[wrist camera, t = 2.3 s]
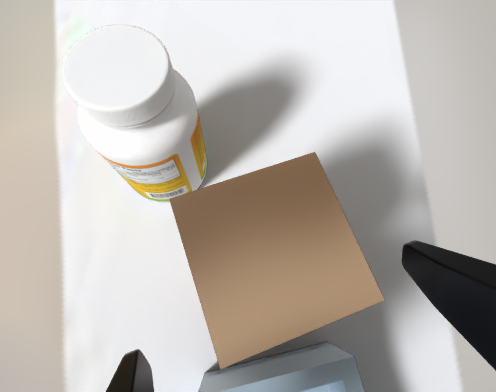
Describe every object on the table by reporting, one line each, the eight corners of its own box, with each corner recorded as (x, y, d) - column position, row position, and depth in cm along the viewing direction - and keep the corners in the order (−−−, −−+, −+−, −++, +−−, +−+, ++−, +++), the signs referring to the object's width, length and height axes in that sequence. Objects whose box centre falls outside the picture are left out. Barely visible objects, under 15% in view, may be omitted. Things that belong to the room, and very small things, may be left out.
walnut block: (296, 294, 18) (384, 300, 8) (227, 322, 17) (220, 369, 7) (270, 226, 19) (315, 151, 9) (204, 250, 19) (169, 198, 8)
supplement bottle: (166, 118, 21) (116, -12, 12) (223, 161, 21) (217, 57, 11) (111, 172, 20) (7, 70, 11) (171, 220, 19) (114, 155, 10)
